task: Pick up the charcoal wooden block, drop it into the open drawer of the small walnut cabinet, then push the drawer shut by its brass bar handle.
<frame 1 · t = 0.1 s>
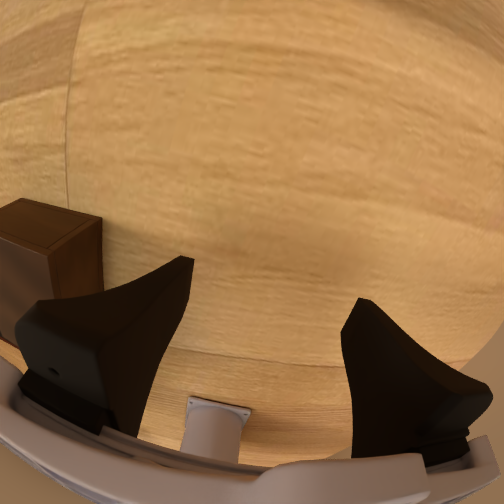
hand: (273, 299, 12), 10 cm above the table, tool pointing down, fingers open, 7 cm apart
cabinet: (60, 267, 24), on the table
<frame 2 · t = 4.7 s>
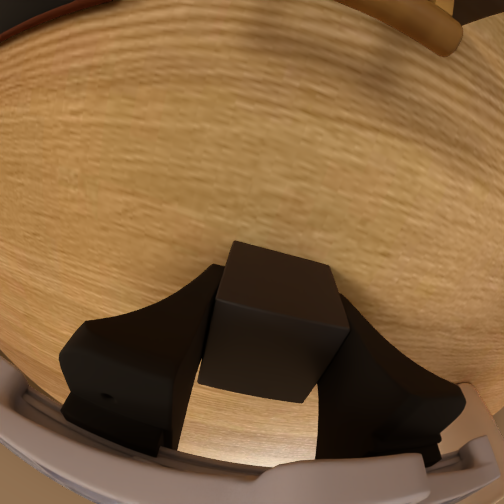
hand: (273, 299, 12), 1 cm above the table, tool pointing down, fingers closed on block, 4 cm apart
block: (269, 293, 13), on the table, touching gripper
candle holder: (436, 409, 18), on the table
when the fingers open (6 cm above the table, at t = 9.8 s): block drops 3 cm, resting on drawer.
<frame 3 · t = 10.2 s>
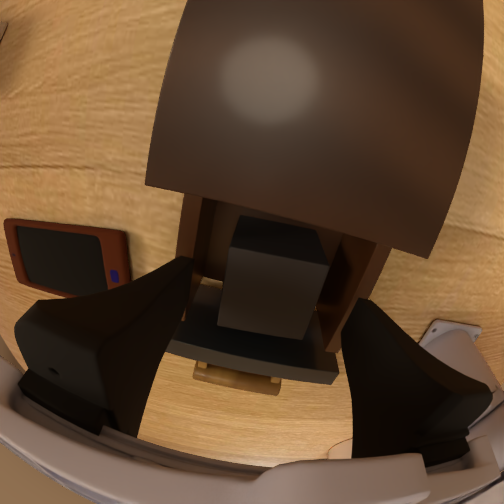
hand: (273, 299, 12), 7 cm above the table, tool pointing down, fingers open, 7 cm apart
cabinet: (316, 76, 14), on the table
smartphone: (62, 258, 20), on the table
drawer: (266, 284, 15), point 4 cm above the table, slide at 8.0 cm, touching block
block: (270, 256, 17), point 2 cm above the table, touching drawer
candle holder: (354, 446, 31), on the table
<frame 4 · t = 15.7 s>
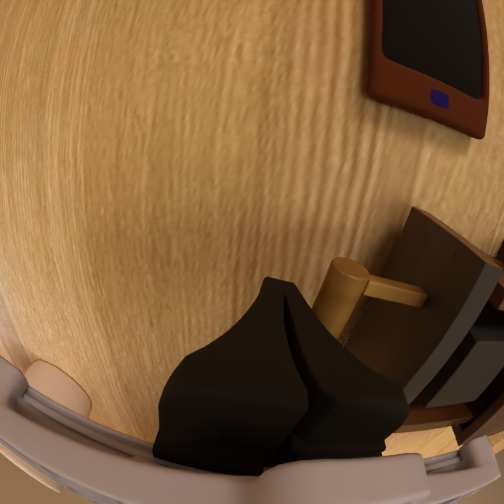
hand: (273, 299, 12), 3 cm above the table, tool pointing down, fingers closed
drawer: (447, 341, 11), point 4 cm above the table, slide at 7.9 cm, touching block, gripper
block: (444, 322, 13), point 2 cm above the table, touching drawer
candle holder: (62, 384, 23), on the table
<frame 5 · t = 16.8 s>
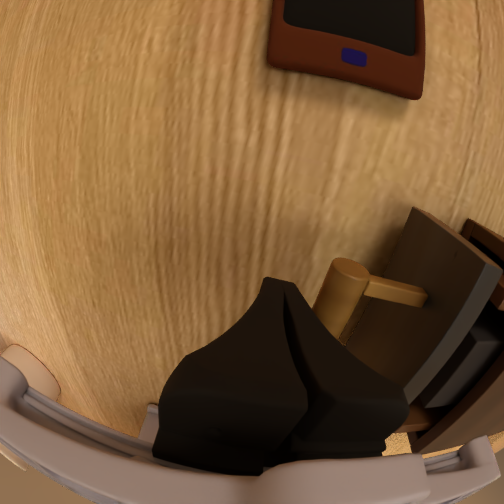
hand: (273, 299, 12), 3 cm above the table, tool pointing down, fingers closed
cabinet: (484, 315, 15), on the table
drawer: (447, 341, 11), point 4 cm above the table, slide at 3.5 cm, touching block, gripper
block: (444, 322, 13), point 2 cm above the table, touching drawer
candle holder: (34, 369, 22), on the table
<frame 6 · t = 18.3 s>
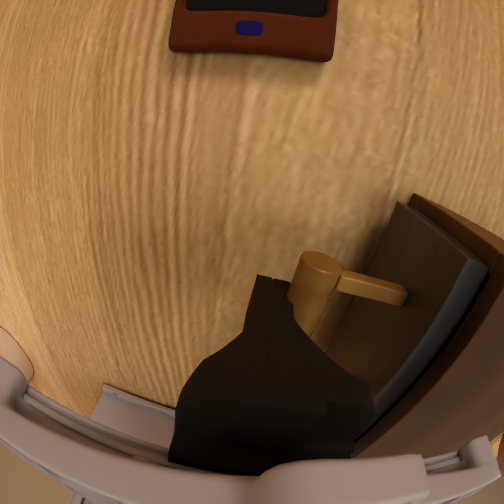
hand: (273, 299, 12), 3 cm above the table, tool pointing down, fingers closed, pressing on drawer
cabinet: (451, 311, 14), on the table
drawer: (435, 344, 11), point 4 cm above the table, slide at 0.0 cm, touching block, cabinet, gripper
block: (433, 324, 13), point 2 cm above the table, touching drawer
candle holder: (12, 349, 23), on the table
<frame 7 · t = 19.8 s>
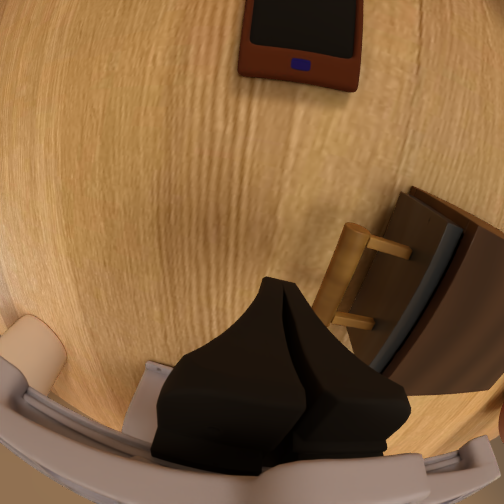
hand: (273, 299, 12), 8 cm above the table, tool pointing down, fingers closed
cabinet: (445, 278, 19), on the table
drawer: (434, 295, 15), point 4 cm above the table, slide at 0.0 cm, touching block, cabinet
candle holder: (43, 338, 27), on the table
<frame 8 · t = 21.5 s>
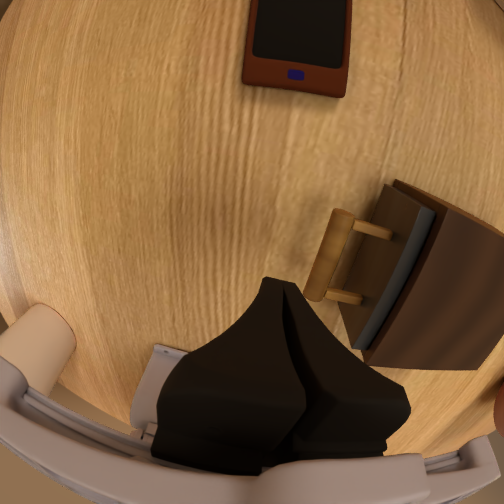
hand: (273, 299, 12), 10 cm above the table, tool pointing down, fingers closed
cabinet: (430, 264, 21), on the table
smartphone: (301, 4, 14), on the table
drawer: (417, 276, 18), point 4 cm above the table, slide at 0.0 cm, touching block, cabinet
candle holder: (53, 327, 29), on the table
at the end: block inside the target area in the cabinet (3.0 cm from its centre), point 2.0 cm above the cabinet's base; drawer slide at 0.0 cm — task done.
